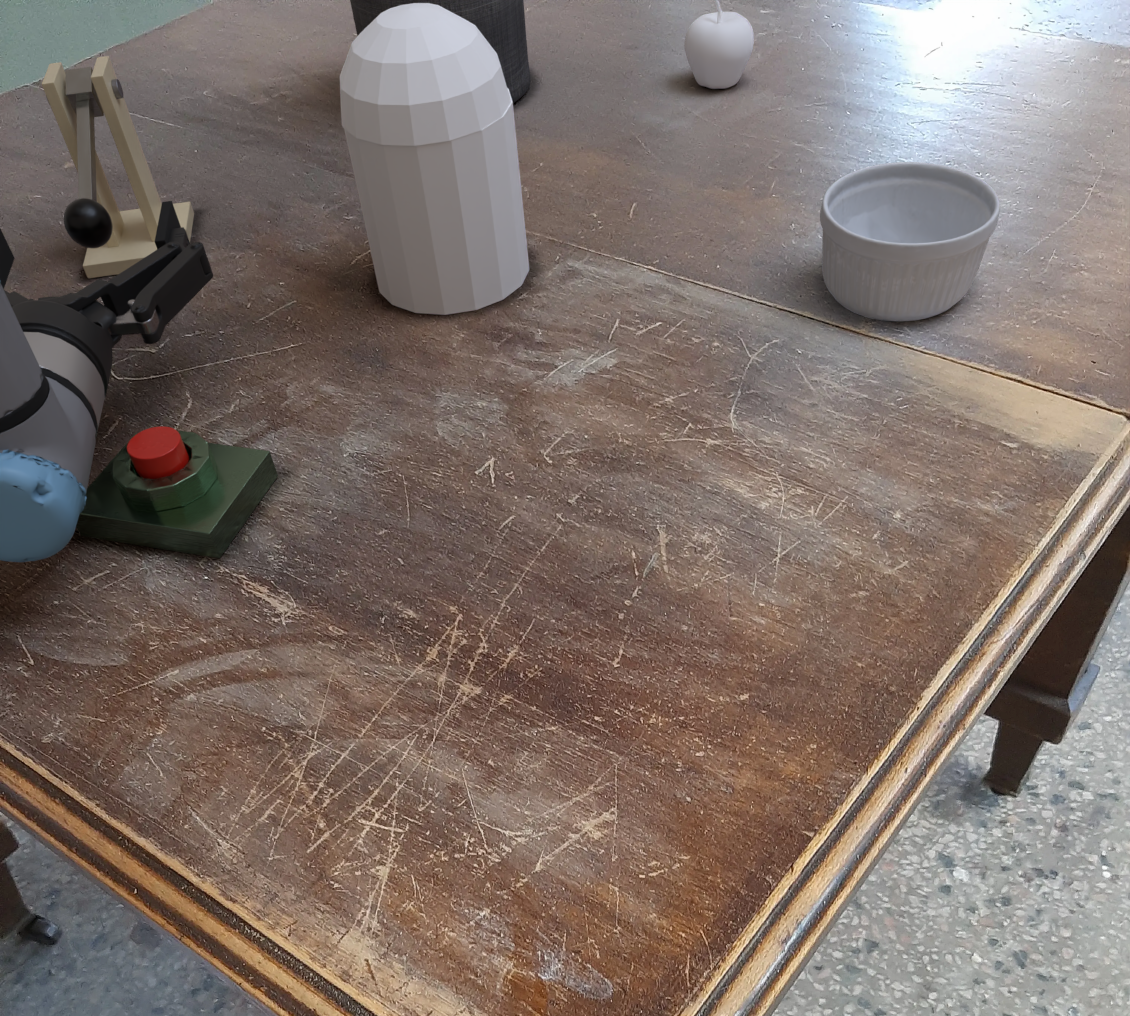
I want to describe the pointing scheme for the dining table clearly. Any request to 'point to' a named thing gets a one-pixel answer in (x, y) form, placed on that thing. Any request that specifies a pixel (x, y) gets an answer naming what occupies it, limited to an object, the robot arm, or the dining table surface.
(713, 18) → the plain white apple
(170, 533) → the green switch base
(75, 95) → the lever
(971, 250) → the ramekin
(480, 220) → the container
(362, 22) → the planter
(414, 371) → the dining table surface
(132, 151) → the pendulum stand
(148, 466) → the button
